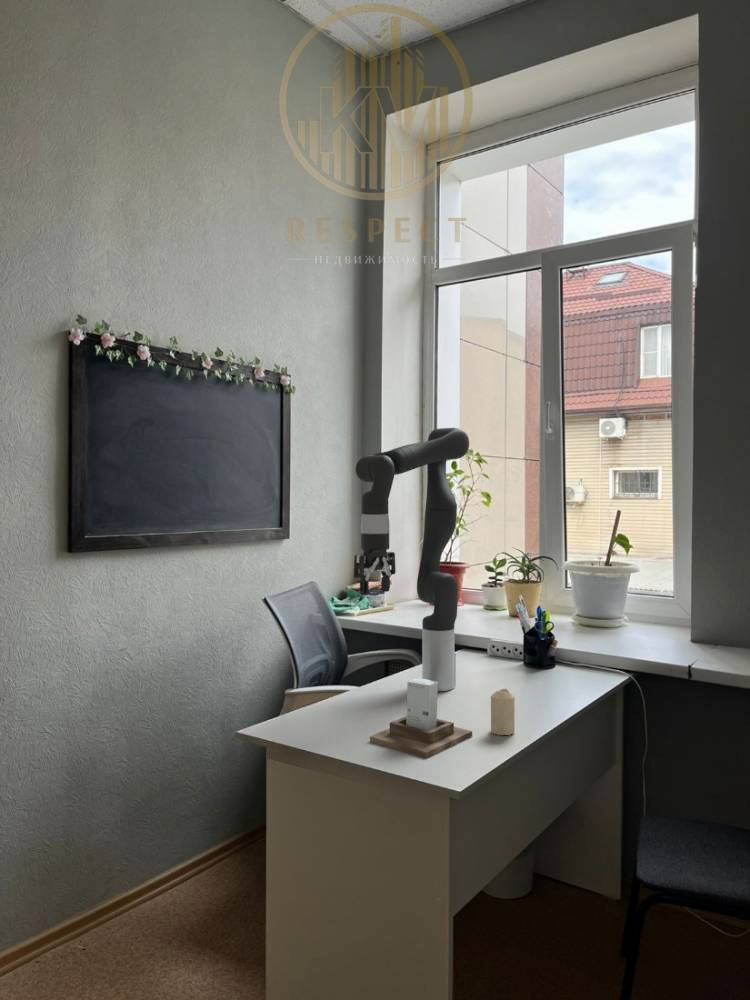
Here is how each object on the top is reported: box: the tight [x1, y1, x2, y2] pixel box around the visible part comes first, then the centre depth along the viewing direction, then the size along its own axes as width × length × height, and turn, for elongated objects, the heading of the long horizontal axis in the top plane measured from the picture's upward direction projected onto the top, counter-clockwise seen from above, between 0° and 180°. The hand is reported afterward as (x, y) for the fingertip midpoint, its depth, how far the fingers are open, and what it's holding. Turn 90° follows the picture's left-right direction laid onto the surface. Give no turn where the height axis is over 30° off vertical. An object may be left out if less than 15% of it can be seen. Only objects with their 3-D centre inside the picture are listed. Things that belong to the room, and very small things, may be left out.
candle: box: [490, 688, 516, 736], centre depth 174 cm, size 6×6×10 cm
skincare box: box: [406, 677, 439, 731], centre depth 170 cm, size 6×4×12 cm
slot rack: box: [369, 715, 473, 759], centre depth 169 cm, size 18×16×4 cm
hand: (375, 593), depth 193 cm, fingers open, 8 cm apart
